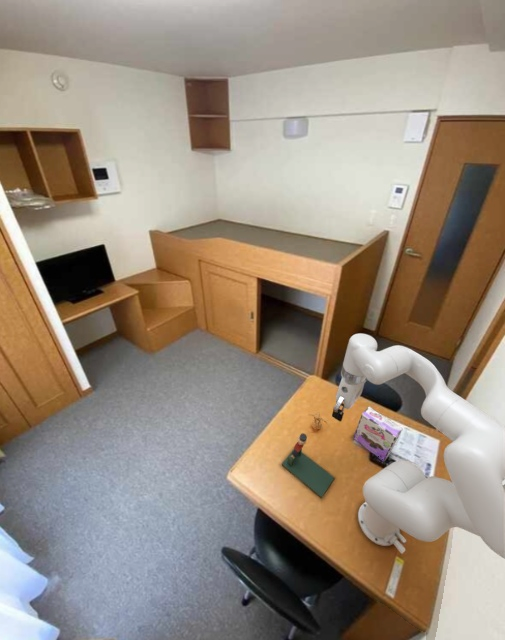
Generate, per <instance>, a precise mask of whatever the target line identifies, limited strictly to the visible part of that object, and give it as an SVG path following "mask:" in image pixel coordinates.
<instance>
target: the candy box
mask: <svg viewBox="0 0 505 640" xmlns="http://www.w3.org/2000/svg"><path fill="white" fill-rule="evenodd" d="M403 429H404V428H403V427H401V426H399V425H398V424H396V423H394V422H393V421H392V420H390V419H389V418H387V417H386V416H385V415H382V414H381V413H380V412H379V411H377V410H375V409H373V408H372V407H371V406H370V405H369V406H368V407H367V408H366V409H365V410H364V411H363V412H362V413H361V416H360V418H359V421H358V423H357V427H356V429H355V432H354V435H353V437H352V438H353V440H354V441H355V442H356V443H358V444H359V445H360V446H362V447H363V448H365V449H366V450H367V451H368V452H370V453H371V454H372V455H374V456H375V457H376V458H378V459H379V460H380V461H382V462H383V463H385V461H386V460H387V459H388V457H390V455H391V453H392V451H393V449H394V447H395V445H396V443H397V441H398V439H399V437H400V435H401V433H402V431H403ZM378 456H379V457H378ZM382 459H383V460H382Z"/></svg>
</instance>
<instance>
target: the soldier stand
mask: <svg viewBox="0 0 505 640" xmlns="http://www.w3.org/2000/svg"><path fill="white" fill-rule="evenodd" d="M302 451H303V448H302V449H301V450H300V452H299V454H298V455H297V456H296V457H295V458H294V459H293V458H291V456H292V452H293V450H292V451H291V452H290V453H289V454H288V455H287V457H286V458H285V459H284V460H283V461H282V462H281V466H282V467H283V468H284V469H286V471H288V472H289V473H290V474H291V475H293V476H294V477H295V478H296V479H298V481H300V482H301V483H302V484H304V486H306V488H308V489H310V490H311V491H312V492H313V493H314V494H316V496H318V497H319V498H320V499H322V498H323V497H324V495H325V494H326V492H327V491H328V489H329V488H330V487H331V485H332V483H333V482H334V480H335V476H333V475H332V474H331V473H329V472H328V471H327V470H325V469H324V468H323V467H321V466H320V465H319V464H318V463H317V462H315V461H314V460H313V459H311V458H310V457H309V456H307V455H306V454H305V453H303V452H302Z"/></svg>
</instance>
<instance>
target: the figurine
mask: <svg viewBox="0 0 505 640" xmlns="http://www.w3.org/2000/svg"><path fill="white" fill-rule="evenodd" d="M307 416H312V417H313V419H314V420H313V421H312V423H311V427H312V428H313V429H315V430H320V429H321V428H322V425H323V424H322V422H324V423H325V424H328V422H327V421H326V420H325V419H323V418H322V416H321V413H320V412H319V411H317V412H316V414H313V413H308V414H307ZM321 421H322V422H321Z"/></svg>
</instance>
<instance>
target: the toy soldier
mask: <svg viewBox="0 0 505 640" xmlns="http://www.w3.org/2000/svg"><path fill="white" fill-rule="evenodd" d="M307 440H308V435H306V434H305V433H300V435H298V437H297V442H296V443H295V444H294V446H293V449H292V451H293V452H292V451H291V452H292V456H291V458H293V459H294V458H295V457H296V456H297V455H298V454H299V452H300V450H301V449H302V450H303V447H304V446H305V445H306V444H307Z"/></svg>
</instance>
